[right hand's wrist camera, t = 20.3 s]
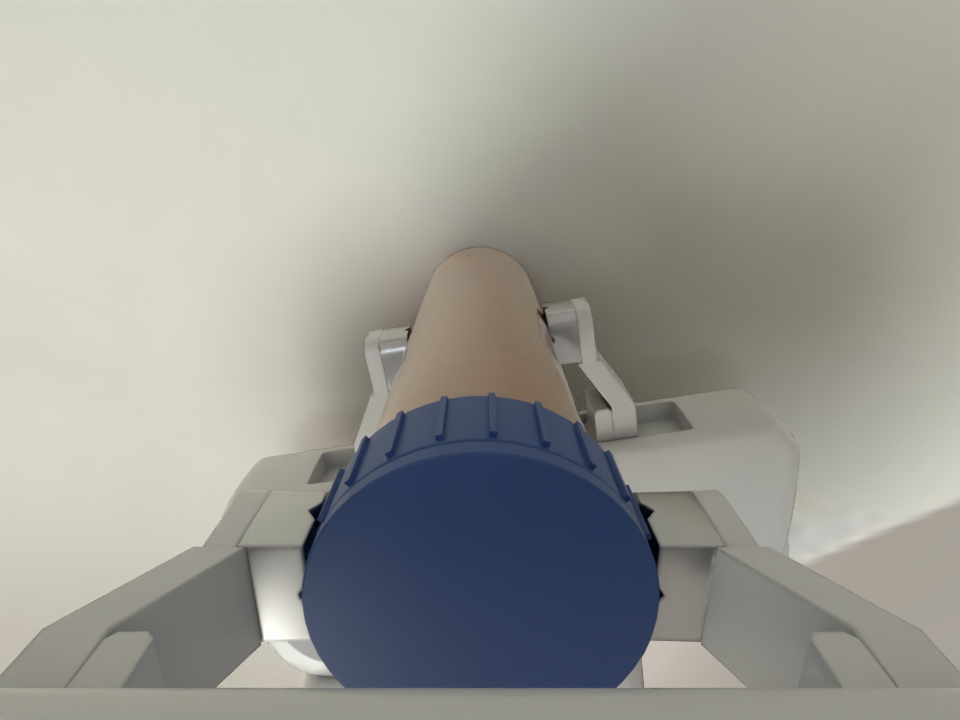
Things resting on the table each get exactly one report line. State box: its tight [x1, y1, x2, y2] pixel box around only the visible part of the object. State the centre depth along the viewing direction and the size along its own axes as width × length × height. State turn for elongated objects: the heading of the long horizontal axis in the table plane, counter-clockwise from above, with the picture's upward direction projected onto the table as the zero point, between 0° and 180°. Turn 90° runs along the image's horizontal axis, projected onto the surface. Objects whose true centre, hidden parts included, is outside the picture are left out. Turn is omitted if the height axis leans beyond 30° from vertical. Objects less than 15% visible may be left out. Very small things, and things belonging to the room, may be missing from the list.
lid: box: [302, 393, 660, 688], centre depth 9 cm, size 5×5×2 cm
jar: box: [375, 247, 586, 432], centre depth 17 cm, size 5×5×17 cm
